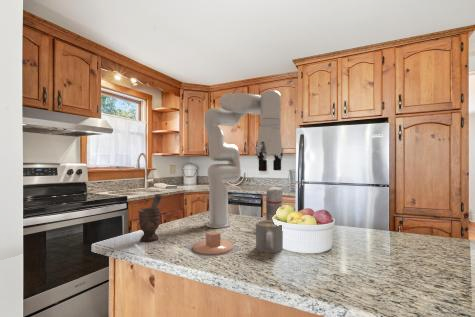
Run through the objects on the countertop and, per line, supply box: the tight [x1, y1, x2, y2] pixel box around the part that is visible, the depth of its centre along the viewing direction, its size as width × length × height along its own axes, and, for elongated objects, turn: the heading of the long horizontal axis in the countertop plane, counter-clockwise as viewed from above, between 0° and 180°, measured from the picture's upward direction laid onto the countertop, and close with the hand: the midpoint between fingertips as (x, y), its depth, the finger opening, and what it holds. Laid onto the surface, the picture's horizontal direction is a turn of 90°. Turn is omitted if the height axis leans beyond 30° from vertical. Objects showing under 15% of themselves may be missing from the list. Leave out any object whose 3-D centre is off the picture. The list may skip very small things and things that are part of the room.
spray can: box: [265, 186, 283, 220], centre depth 132 cm, size 8×8×20 cm
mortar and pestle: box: [138, 193, 163, 244], centre depth 107 cm, size 12×9×20 cm
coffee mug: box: [255, 219, 284, 254], centre depth 96 cm, size 13×10×10 cm
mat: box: [184, 238, 243, 260], centre depth 98 cm, size 16×16×1 cm
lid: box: [192, 230, 234, 256], centre depth 98 cm, size 15×15×6 cm
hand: (270, 170), depth 97 cm, fingers open, 9 cm apart
